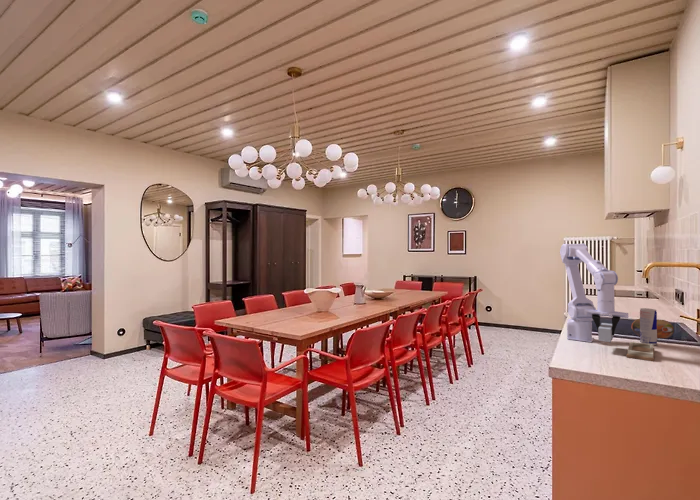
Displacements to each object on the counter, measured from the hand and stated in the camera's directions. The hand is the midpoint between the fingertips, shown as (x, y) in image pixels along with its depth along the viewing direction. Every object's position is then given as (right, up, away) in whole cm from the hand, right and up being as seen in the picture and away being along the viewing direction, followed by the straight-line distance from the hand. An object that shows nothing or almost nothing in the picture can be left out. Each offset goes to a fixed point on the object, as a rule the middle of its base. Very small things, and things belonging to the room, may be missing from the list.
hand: (606, 333), depth 148 cm
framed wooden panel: (+9, -6, -6) cm, 13 cm away
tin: (+35, -6, +19) cm, 40 cm away
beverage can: (+24, -6, +8) cm, 26 cm away
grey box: (0, -2, 0) cm, 2 cm away
